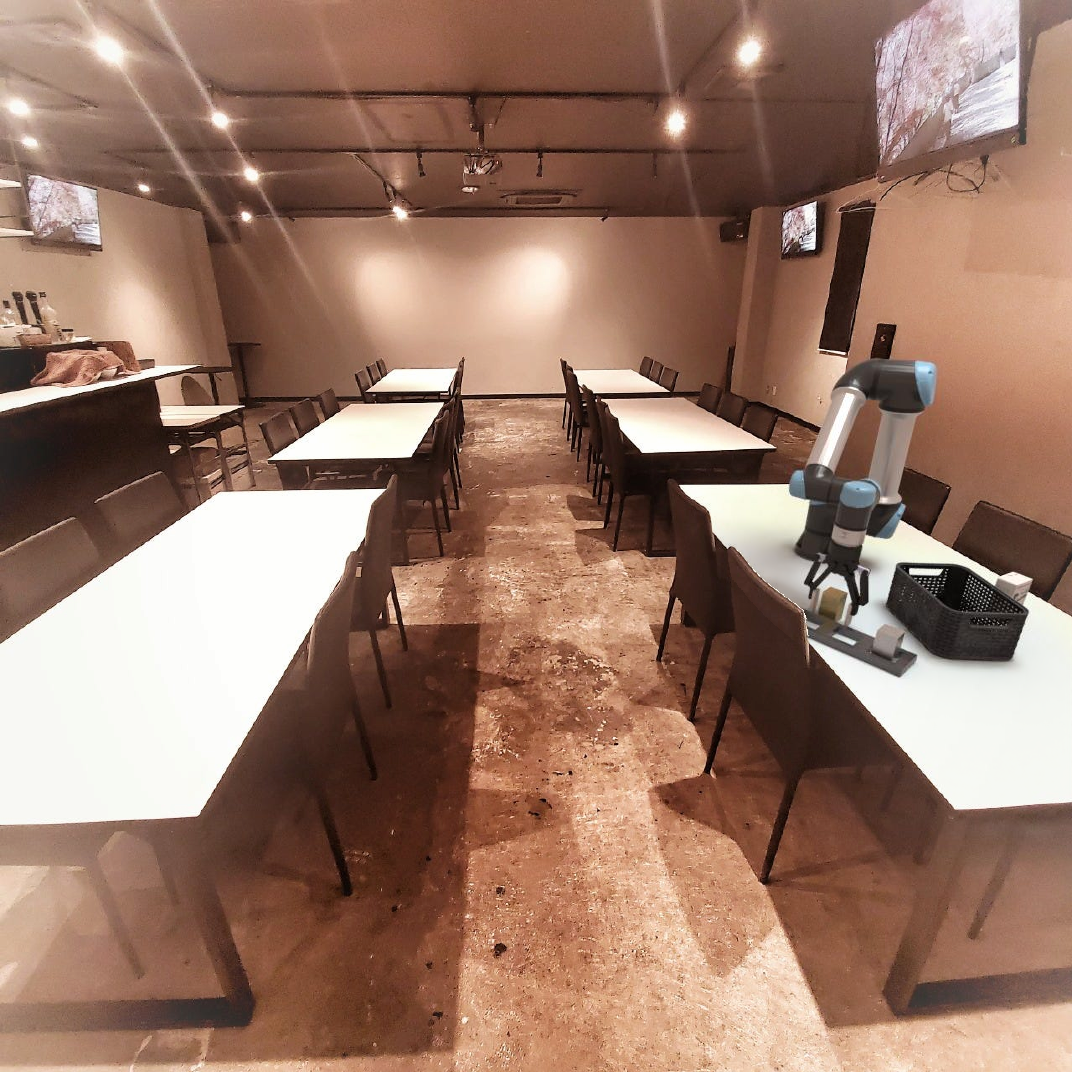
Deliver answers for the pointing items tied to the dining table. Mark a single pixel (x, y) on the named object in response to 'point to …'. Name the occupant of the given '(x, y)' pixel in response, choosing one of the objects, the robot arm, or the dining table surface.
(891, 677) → the dining table surface
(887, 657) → the light grey block
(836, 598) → the maple wood beam
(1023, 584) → the ink box
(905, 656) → the rail
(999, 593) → the storage bin
